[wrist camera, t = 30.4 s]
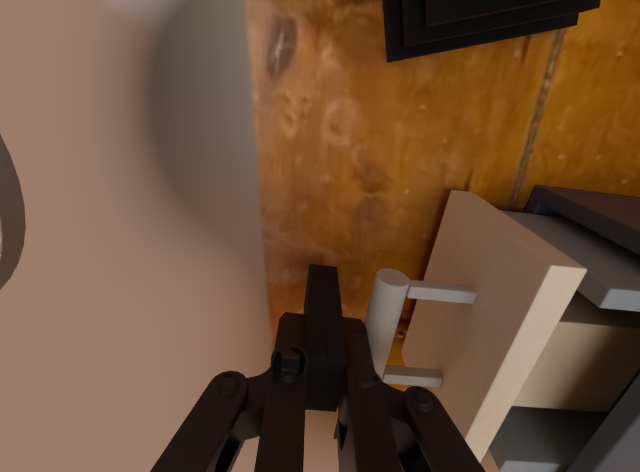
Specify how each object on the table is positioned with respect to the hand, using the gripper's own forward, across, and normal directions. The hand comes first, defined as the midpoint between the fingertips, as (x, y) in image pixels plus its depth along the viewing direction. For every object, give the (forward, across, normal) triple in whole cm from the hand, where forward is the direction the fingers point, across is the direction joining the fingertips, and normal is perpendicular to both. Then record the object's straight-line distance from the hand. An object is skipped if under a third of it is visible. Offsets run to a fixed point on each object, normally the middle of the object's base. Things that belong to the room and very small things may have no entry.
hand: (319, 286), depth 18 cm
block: (0, +11, 0) cm, 11 cm away
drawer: (+1, +11, 0) cm, 11 cm away
